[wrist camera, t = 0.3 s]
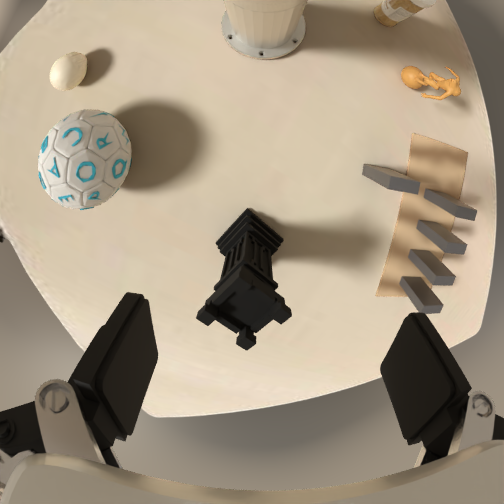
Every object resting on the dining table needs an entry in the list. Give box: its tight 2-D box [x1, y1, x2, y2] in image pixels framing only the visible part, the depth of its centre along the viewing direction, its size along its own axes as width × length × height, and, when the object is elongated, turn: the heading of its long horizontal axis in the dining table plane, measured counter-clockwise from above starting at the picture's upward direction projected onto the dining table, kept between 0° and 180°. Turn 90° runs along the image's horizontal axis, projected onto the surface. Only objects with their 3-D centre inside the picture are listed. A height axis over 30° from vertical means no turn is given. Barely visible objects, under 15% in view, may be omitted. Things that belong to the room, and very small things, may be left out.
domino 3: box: [416, 220, 467, 254], centre depth 39 cm, size 2×5×10 cm, turn 86°
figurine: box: [401, 66, 461, 100], centre depth 27 cm, size 8×6×12 cm
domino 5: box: [399, 276, 443, 314], centre depth 44 cm, size 2×5×10 cm, turn 87°
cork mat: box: [376, 133, 468, 297], centre depth 43 cm, size 32×14×1 cm, turn 177°
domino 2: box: [424, 188, 477, 221], centre depth 36 cm, size 2×5×10 cm, turn 87°
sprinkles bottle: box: [374, 0, 436, 27], centre depth 21 cm, size 5×5×13 cm
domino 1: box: [362, 164, 420, 195], centre depth 35 cm, size 2×5×10 cm, turn 86°
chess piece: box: [196, 208, 292, 350], centre depth 37 cm, size 8×8×20 cm
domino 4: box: [408, 249, 456, 285], centre depth 41 cm, size 2×5×10 cm, turn 86°
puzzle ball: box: [38, 110, 132, 210], centre depth 33 cm, size 15×15×15 cm
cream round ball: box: [50, 52, 87, 91], centre depth 29 cm, size 7×7×7 cm
